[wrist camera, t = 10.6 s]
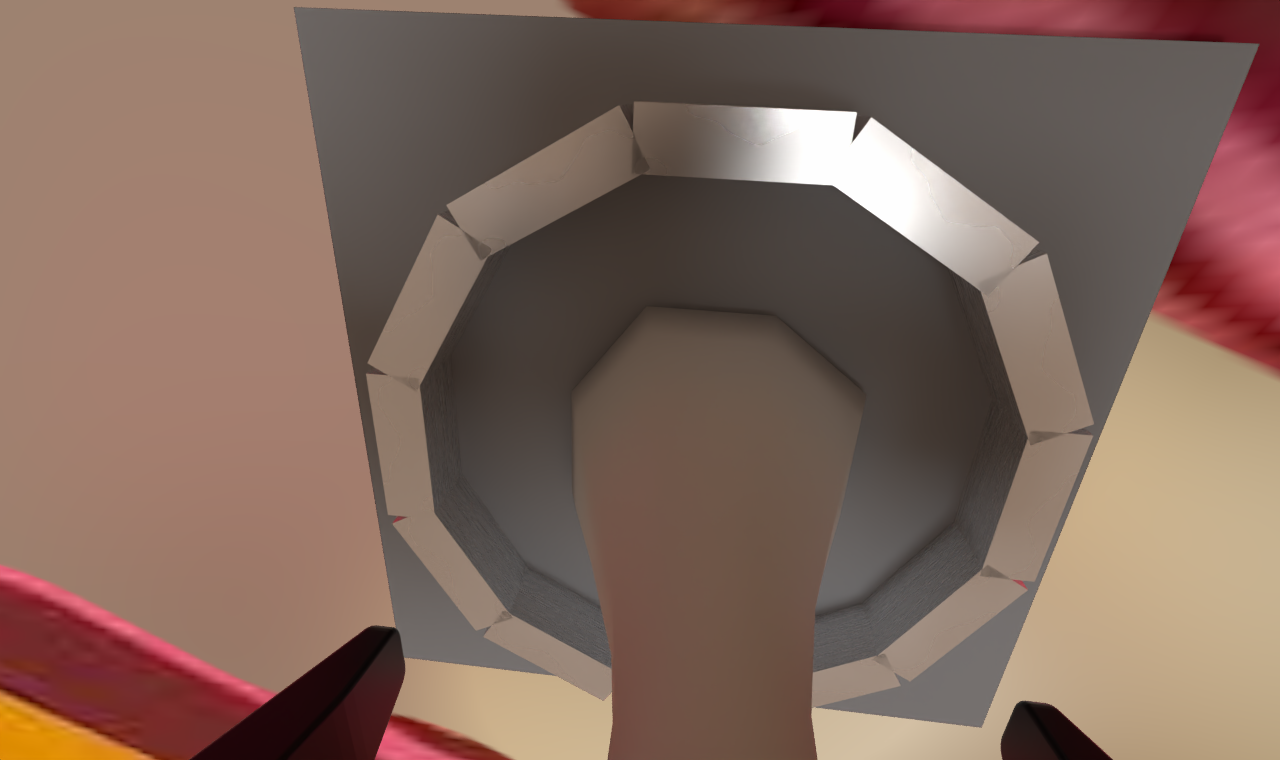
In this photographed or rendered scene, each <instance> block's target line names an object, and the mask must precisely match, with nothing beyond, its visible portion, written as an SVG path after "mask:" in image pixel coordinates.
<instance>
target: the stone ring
mask: <svg viewBox="0 0 1280 760" xmlns="http://www.w3.org/2000/svg"><path fill="white" fill-rule="evenodd" d="M856 115H857V112H849V111H839V110H820V109H799V108H778V107H757V106H737V105H716V104H695V103H674V102H653V101H634V109H633V107H632V104H627V105H618V106H617V107H615V108H613V109H612V110H610V111H608V112H606V113H605V114H603V115H601V116H599V117H598V118H596V119H594V120H593V121H591V122H589V123H587V124H586V125H584V126H582V127H580V128H579V129H577V130H575V131H574V132H572V133H570V134H568V135H567V136H565V137H563V138H561V139H560V140H558V141H556V142H555V143H553V144H551V145H549V146H548V147H546V148H544V149H542V150H541V151H539V152H537V153H536V154H534V155H532V156H530V157H529V158H527V159H525V160H523V161H522V162H520V163H518V164H516V165H515V166H513V167H511V168H510V169H508V170H506V171H504V172H503V173H501V174H499V175H497V176H496V177H494V178H492V179H491V180H489V181H487V182H485V183H484V184H482V185H480V186H478V187H477V188H475V189H473V190H472V191H470V192H468V193H466V194H465V195H463V196H461V197H459V198H458V199H456V200H454V201H453V202H451V203H449V204H447V205H446V206H447V207H448V209H449V210H447V211H445V212H442V213H440V214H438V215H437V217H436V219H435V221H434V223H433V225H432V228H431V230H430V232H429V234H428V236H427V238H426V240H425V242H424V244H423V247H422V249H421V251H420V253H419V255H418V257H417V259H416V261H415V263H414V266H413V268H412V270H411V272H410V274H409V276H408V278H407V280H406V282H405V285H404V287H403V289H402V291H401V293H400V295H399V297H398V299H397V301H396V304H395V306H394V308H393V310H392V312H391V314H390V316H389V318H388V321H387V323H386V325H385V327H384V329H383V331H382V333H381V335H380V337H379V340H378V342H377V344H376V346H375V348H374V350H373V352H372V354H371V356H370V359H369V361H368V364H370V365H371V366H373V367H374V368H372V369H371V370H370V371H369V372H367V373H366V377H367V383H368V390H369V396H370V403H371V409H372V415H373V422H374V428H375V435H376V441H377V448H378V454H379V460H380V467H381V473H382V480H383V486H384V493H385V499H386V505H387V512H388V515H394V516H397V518H396V519H395V520H394V522H393V523H392V524H393V526H394V527H395V528H396V529H397V531H398V532H399V533H400V535H401V536H402V537H403V538H404V540H405V541H406V542H407V543H408V545H409V546H410V547H411V549H412V550H413V551H414V552H415V554H416V555H417V556H418V558H419V559H420V560H421V561H422V563H423V564H424V565H425V566H426V568H427V569H428V570H429V572H430V573H431V574H432V575H433V577H434V578H435V579H436V580H437V582H438V583H439V584H440V586H441V587H442V588H443V589H444V591H445V592H446V593H447V595H448V596H449V597H450V598H451V600H452V601H453V602H454V603H455V605H456V606H457V607H458V609H459V610H460V611H461V612H462V614H463V615H464V616H465V618H466V619H467V620H468V621H469V623H470V624H471V625H472V626H473V628H474V629H475V630H476V631H477V630H480V629H483V628H486V627H487V629H486V631H485V634H484V636H483V637H485V638H486V639H488V640H490V641H492V642H494V643H496V644H498V645H500V646H501V647H503V648H505V649H507V650H509V651H511V652H513V653H515V654H516V655H518V656H520V657H522V658H524V659H526V660H528V661H530V662H531V663H533V664H535V665H537V666H539V667H541V668H543V669H545V670H546V671H548V672H550V673H552V674H554V675H556V676H558V677H560V678H562V679H563V680H565V681H567V682H569V683H571V684H573V685H575V686H576V687H578V688H580V689H582V690H584V691H586V692H588V693H590V694H591V695H593V696H595V697H597V698H599V699H601V700H605V699H606V698H607V697H608V696H609V695H610V694H611V692H612V668H611V652H610V648H609V643H608V638H607V634H606V629H605V624H604V620H603V615H602V611H601V607H600V606H598V605H597V604H595V603H593V602H591V601H590V600H588V599H586V598H584V597H582V596H581V595H579V594H577V593H575V592H573V591H572V590H570V589H568V588H566V587H564V586H563V585H561V584H559V583H557V582H555V581H554V580H552V579H550V578H548V577H547V576H545V575H543V574H541V573H539V572H538V571H536V570H534V569H532V568H530V567H529V566H527V564H526V563H525V561H524V560H523V558H522V557H521V556H520V554H519V553H518V551H517V550H516V549H515V547H514V546H513V544H512V543H511V542H510V540H509V539H508V537H507V536H506V535H505V533H504V532H503V530H502V529H501V527H500V526H499V525H498V523H497V522H496V520H495V519H494V518H493V516H492V515H491V513H490V512H489V511H488V509H487V508H486V506H485V505H484V504H483V502H482V501H481V499H480V498H479V496H478V495H477V494H476V492H475V491H474V489H473V488H472V487H471V485H470V484H469V482H468V481H467V480H466V478H465V477H464V475H463V474H462V470H461V459H460V448H459V437H458V426H457V415H456V404H455V393H454V383H453V372H452V361H451V354H452V352H453V350H454V348H455V347H456V345H457V343H458V341H459V339H460V337H461V335H462V334H463V332H464V330H465V328H466V326H467V324H468V323H469V321H470V319H471V317H472V315H473V313H474V311H475V310H476V308H477V306H478V304H479V302H480V300H481V299H482V297H483V295H484V293H485V291H486V289H487V287H488V286H489V284H490V282H491V280H492V278H493V276H494V275H495V273H496V271H497V269H498V267H499V265H500V263H501V262H502V260H503V258H504V256H505V254H506V252H507V250H508V249H509V247H510V245H511V244H513V243H514V242H516V241H518V240H520V239H522V238H524V237H526V236H527V235H529V234H531V233H533V232H535V231H537V230H539V229H540V228H542V227H544V226H546V225H548V224H550V223H552V222H554V221H555V220H557V219H559V218H561V217H563V216H565V215H567V214H568V213H570V212H572V211H574V210H576V209H578V208H580V207H581V206H583V205H585V204H587V203H589V202H591V201H593V200H594V199H596V198H598V197H600V196H602V195H604V194H606V193H608V192H609V191H611V190H613V189H615V188H617V187H619V186H621V185H622V184H624V183H626V182H628V181H630V180H632V179H634V178H635V177H637V176H639V175H641V174H645V175H663V176H680V177H698V178H715V179H733V180H750V181H767V182H785V183H802V184H820V185H834V186H835V187H836V188H838V189H839V190H841V191H842V192H843V193H845V194H846V195H848V196H849V197H850V198H852V199H853V200H855V201H856V202H857V203H859V204H860V205H862V206H863V207H864V208H866V209H867V210H869V211H870V212H871V213H873V214H874V215H876V216H877V217H878V218H880V219H881V220H882V221H884V222H885V223H887V224H888V225H889V226H891V227H892V228H894V229H895V230H896V231H898V232H899V233H901V234H902V235H903V236H905V237H906V238H908V239H909V240H910V241H912V242H913V243H915V244H916V245H917V246H919V247H920V248H922V249H923V250H924V251H926V252H927V253H928V254H930V255H931V256H933V257H934V258H935V259H937V260H938V261H940V262H941V263H942V264H944V265H945V266H947V268H948V271H949V274H950V277H951V280H952V283H953V286H954V289H955V292H956V295H957V298H958V301H959V304H960V307H961V309H962V312H963V315H964V318H965V321H966V324H967V327H968V330H969V333H970V336H971V339H972V342H973V345H974V348H975V351H976V354H977V357H978V360H979V363H980V366H981V369H982V372H983V375H984V378H985V381H986V384H987V387H988V389H989V392H990V395H991V398H992V400H991V403H990V407H989V410H988V413H987V416H986V419H985V423H984V426H983V429H982V432H981V435H980V439H979V442H978V445H977V448H976V451H975V455H974V458H973V461H972V464H971V467H970V470H969V474H968V477H967V480H966V483H965V486H964V490H963V493H962V496H961V499H960V502H959V506H958V509H957V512H956V515H955V518H954V521H953V522H952V523H951V524H949V525H948V526H947V527H946V528H945V529H944V530H943V531H942V532H940V533H939V534H938V535H937V536H936V537H935V538H934V539H933V540H931V541H930V542H929V543H928V544H927V545H926V546H925V547H924V548H922V549H921V550H920V551H919V552H918V553H917V554H916V555H914V556H913V557H912V558H911V559H910V560H909V561H908V562H907V563H905V564H904V565H903V566H902V567H901V568H900V569H899V570H898V571H896V572H895V573H894V574H893V575H892V576H891V577H890V578H889V579H887V580H886V581H885V582H884V583H883V584H882V585H881V586H880V587H878V588H877V589H876V590H875V591H874V592H873V593H872V594H871V595H869V596H868V597H867V598H866V599H865V600H864V601H863V602H861V603H857V604H854V605H850V606H847V607H843V608H840V609H837V610H833V611H830V612H826V613H823V614H819V615H816V616H815V626H814V654H813V682H812V708H813V707H817V706H821V705H825V704H830V703H834V702H838V701H842V700H846V699H850V698H854V697H858V696H862V695H866V694H870V693H874V692H878V691H882V690H886V689H890V688H895V687H899V686H901V685H900V682H899V679H898V676H897V674H898V675H899V676H901V677H903V678H905V679H906V680H908V681H911V680H913V679H914V678H915V677H917V676H918V675H919V674H920V673H922V672H923V671H924V670H926V669H927V668H928V667H930V666H931V665H932V664H933V663H935V662H936V661H937V660H939V659H940V658H941V657H942V656H944V655H945V654H946V653H948V652H949V651H950V650H951V649H953V648H954V647H955V646H957V645H958V644H959V643H960V642H962V641H963V640H964V639H966V638H967V637H968V636H970V635H971V634H972V633H973V632H975V631H976V630H977V629H979V628H980V627H981V626H982V625H984V624H985V623H986V622H988V621H989V620H990V619H991V618H993V617H994V616H995V615H997V614H998V613H999V612H1000V611H1002V610H1003V609H1004V608H1006V607H1007V606H1008V605H1009V604H1011V603H1012V602H1013V601H1015V600H1016V599H1017V598H1019V597H1020V596H1021V595H1022V594H1024V593H1025V592H1026V591H1028V589H1027V588H1026V586H1025V585H1024V583H1023V581H1032V582H1035V580H1036V577H1037V575H1038V572H1039V570H1040V567H1041V565H1042V562H1043V560H1044V557H1045V555H1046V552H1047V550H1048V547H1049V545H1050V542H1051V540H1052V537H1053V535H1054V532H1055V530H1056V527H1057V525H1058V522H1059V520H1060V517H1061V515H1062V512H1063V510H1064V507H1065V505H1066V502H1067V500H1068V497H1069V495H1070V492H1071V490H1072V487H1073V485H1074V482H1075V480H1076V477H1077V475H1078V473H1079V470H1080V468H1081V465H1082V463H1083V460H1084V458H1085V455H1086V453H1087V450H1088V448H1089V445H1090V443H1091V440H1092V438H1093V435H1092V434H1091V433H1090V432H1089V431H1088V430H1086V429H1085V428H1084V427H1087V426H1090V425H1093V424H1094V422H1093V418H1092V415H1091V411H1090V407H1089V404H1088V400H1087V396H1086V393H1085V389H1084V386H1083V382H1082V378H1081V375H1080V371H1079V368H1078V364H1077V360H1076V357H1075V353H1074V349H1073V346H1072V342H1071V339H1070V335H1069V331H1068V328H1067V324H1066V321H1065V317H1064V313H1063V310H1062V306H1061V303H1060V299H1059V295H1058V292H1057V288H1056V284H1055V281H1054V277H1053V274H1052V270H1051V266H1050V263H1049V259H1048V256H1047V253H1045V252H1043V251H1041V250H1038V249H1036V248H1034V247H1035V246H1036V245H1037V244H1038V243H1039V242H1038V241H1037V240H1035V239H1034V238H1033V237H1031V236H1030V235H1029V234H1027V233H1026V232H1025V231H1023V230H1022V229H1021V228H1019V227H1018V226H1017V225H1015V224H1014V223H1013V222H1011V221H1010V220H1009V219H1007V218H1006V217H1005V216H1003V215H1002V214H1001V213H999V212H998V211H997V210H995V209H994V208H993V207H991V206H990V205H989V204H987V203H986V202H984V201H983V200H982V199H980V198H979V197H978V196H976V195H975V194H974V193H972V192H971V191H970V190H968V189H967V188H966V187H964V186H963V185H962V184H960V183H959V182H958V181H956V180H955V179H954V178H952V177H951V176H950V175H948V174H947V173H946V172H944V171H943V170H942V169H940V168H939V167H938V166H936V165H935V164H933V163H932V162H931V161H929V160H928V159H927V158H925V157H924V156H923V155H921V154H920V153H919V152H917V151H916V150H915V149H913V148H912V147H911V146H909V145H908V144H907V143H905V142H904V141H903V140H901V139H900V138H899V137H897V136H896V135H895V134H893V133H892V132H891V131H889V130H888V129H887V128H885V127H884V126H882V125H881V124H880V123H878V122H877V121H876V120H874V119H873V118H872V117H864V116H856Z"/></svg>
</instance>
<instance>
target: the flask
mask: <svg viewBox="0 0 1280 760" xmlns="http://www.w3.org/2000/svg"><path fill="white" fill-rule="evenodd" d="M865 400H866V394H865V393H864V392H863V391H862V390H861V389H860V388H858V387H857V386H856V385H855V384H854V383H853V382H851V381H850V380H849V379H848V378H847V377H846V376H845V375H843V374H842V373H841V372H840V371H839V370H838V369H837V368H835V367H834V366H833V365H832V364H831V363H830V362H828V361H827V360H826V359H825V358H824V357H823V356H822V355H820V354H819V353H818V352H817V351H816V350H815V349H813V348H812V347H811V346H810V345H809V344H808V343H807V342H805V341H804V340H803V339H802V338H801V337H800V336H798V335H797V334H796V333H795V332H794V331H793V330H792V329H790V328H789V327H788V326H787V325H786V324H785V323H784V322H782V321H781V320H780V319H779V318H778V317H777V316H771V315H758V314H744V313H731V312H718V311H704V310H691V309H677V308H664V307H651V306H647V307H646V308H645V309H644V310H643V311H642V312H641V313H640V314H639V316H638V317H637V318H636V319H635V320H634V321H633V322H632V324H631V325H630V326H629V327H628V328H627V329H626V330H625V331H624V333H623V334H622V335H621V336H620V337H619V338H618V339H617V341H616V342H615V343H614V344H613V345H612V346H611V347H610V349H609V350H608V351H607V352H606V353H605V354H604V355H603V356H602V358H601V359H600V360H599V361H598V362H597V363H596V364H595V366H594V367H593V368H592V369H591V370H590V371H589V372H588V373H587V375H586V376H585V377H584V378H583V379H582V380H581V381H580V383H579V384H578V385H577V386H576V387H575V388H574V389H573V390H572V494H573V498H574V503H575V507H576V511H577V515H578V518H579V522H580V525H581V529H582V532H583V536H584V539H585V543H586V546H587V550H588V554H589V557H590V561H591V564H592V569H593V574H594V578H595V583H596V587H597V592H598V597H599V601H600V606H601V611H602V615H603V620H604V624H605V629H606V634H607V638H608V643H609V648H610V652H611V668H612V712H613V725H612V732H611V739H610V746H609V753H608V760H817V753H816V746H815V739H814V732H813V725H812V718H811V710H812V682H813V654H814V626H815V607H816V603H817V598H818V594H819V589H820V585H821V581H822V576H823V572H824V569H825V565H826V562H827V558H828V555H829V552H830V548H831V545H832V541H833V538H834V534H835V531H836V528H837V524H838V521H839V517H840V513H841V509H842V504H843V500H844V495H845V491H846V486H847V482H848V477H849V473H850V468H851V463H852V459H853V454H854V450H855V445H856V441H857V436H858V432H859V427H860V422H861V418H862V413H863V409H864V404H865Z"/></svg>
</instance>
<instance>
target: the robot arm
mask: <svg viewBox="0 0 1280 760" xmlns="http://www.w3.org/2000/svg"><path fill="white" fill-rule="evenodd" d="M404 675H405V661H404V655H403V649H402V642H401V636H400V633H399V631H398V630H397V629H396V628H394V627H393V628H392V627H385V626H370V627H368V628H366V629H365V630H363V631H362V632H361V633H359V634H358V635H357V636H355V637H354V638H353V639H351V640H350V641H349V642H347V643H346V644H344V645H343V646H342V647H341V648H339V649H338V650H336V651H335V652H334V653H332V654H331V655H330V656H328V657H327V658H326V659H324V660H323V661H322V662H320V663H319V664H318V665H316V666H315V667H313V668H312V669H311V670H309V671H308V672H307V673H305V674H304V675H303V676H301V677H300V678H299V679H297V680H296V681H295V682H293V683H292V684H291V685H289V686H288V687H287V688H285V689H284V690H283V691H281V692H280V693H278V694H277V695H276V696H274V697H273V698H272V699H270V700H269V701H268V702H266V703H265V704H264V705H262V706H261V707H260V708H258V709H257V710H255V711H254V712H253V713H251V714H250V715H249V716H247V717H246V718H245V719H243V720H242V721H241V722H239V723H238V724H237V725H235V726H234V727H233V728H231V729H230V730H229V731H227V732H226V733H224V734H223V735H222V736H220V737H219V738H218V739H216V740H215V741H214V742H212V743H211V744H210V745H208V746H207V747H206V748H204V749H203V750H202V751H200V752H199V753H198V754H196V755H195V756H193V757H192V758H191V759H189V760H375V757H376V754H377V751H378V749H379V746H380V743H381V741H382V738H383V735H384V732H385V730H386V727H387V724H388V721H389V719H390V716H391V713H392V711H393V708H394V705H395V702H396V700H397V697H398V694H399V691H400V689H401V686H402V683H403V680H404ZM1001 754H1002V759H1003V760H1113V759H1112V758H1110V757H1109V756H1108V755H1107V754H1106V753H1105V752H1104V751H1103V750H1102V749H1101V748H1100V747H1098V746H1097V745H1096V744H1095V743H1094V742H1093V741H1092V740H1091V739H1090V738H1089V737H1087V736H1086V735H1085V734H1084V733H1083V732H1082V731H1081V730H1080V729H1079V728H1078V727H1077V726H1075V725H1074V724H1073V723H1072V722H1071V721H1070V720H1069V719H1068V718H1067V717H1066V716H1064V715H1063V714H1062V713H1061V712H1060V711H1059V710H1058V709H1057V708H1055V707H1054V706H1052V705H1050V704H1046V703H1039V702H1031V701H1020V702H1019V703H1017V704H1016V706H1015V708H1014V710H1013V712H1012V715H1011V717H1010V720H1009V722H1008V724H1007V726H1006V729H1005V731H1004V734H1003V736H1002V739H1001Z"/></svg>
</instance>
